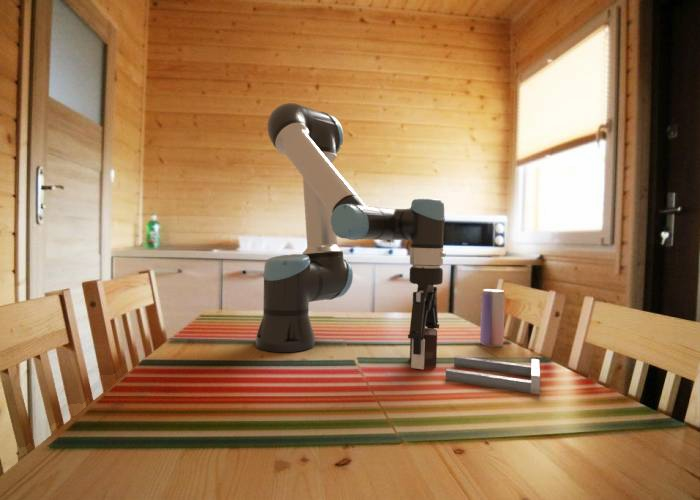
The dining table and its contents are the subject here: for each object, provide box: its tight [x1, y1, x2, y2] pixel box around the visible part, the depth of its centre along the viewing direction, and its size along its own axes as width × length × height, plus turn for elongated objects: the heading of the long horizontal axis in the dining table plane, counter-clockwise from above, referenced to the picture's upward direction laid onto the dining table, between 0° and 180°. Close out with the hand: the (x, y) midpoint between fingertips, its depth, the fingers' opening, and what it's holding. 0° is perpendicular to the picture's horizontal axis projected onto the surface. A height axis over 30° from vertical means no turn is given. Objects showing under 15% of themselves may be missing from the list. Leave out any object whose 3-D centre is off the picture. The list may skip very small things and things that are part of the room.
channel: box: [445, 355, 541, 395], centre depth 88 cm, size 18×12×4 cm
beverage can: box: [479, 288, 506, 348], centre depth 116 cm, size 6×6×15 cm
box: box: [409, 328, 438, 368], centre depth 98 cm, size 6×6×7 cm
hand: (423, 361), depth 98 cm, fingers open, 11 cm apart
